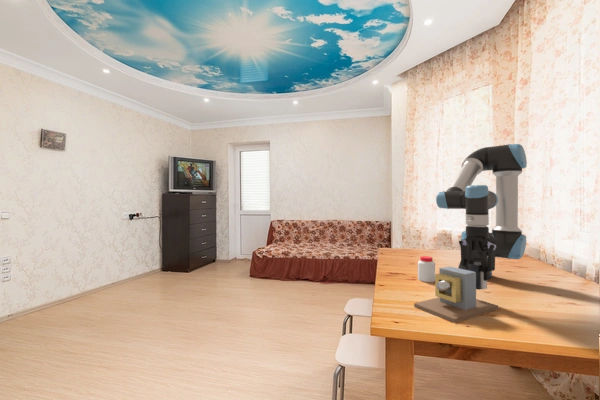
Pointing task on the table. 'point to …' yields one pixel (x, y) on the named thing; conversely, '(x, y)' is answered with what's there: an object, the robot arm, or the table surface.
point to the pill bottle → (426, 269)
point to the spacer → (455, 287)
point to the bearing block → (468, 299)
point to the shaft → (471, 267)
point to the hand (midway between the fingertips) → (477, 286)
